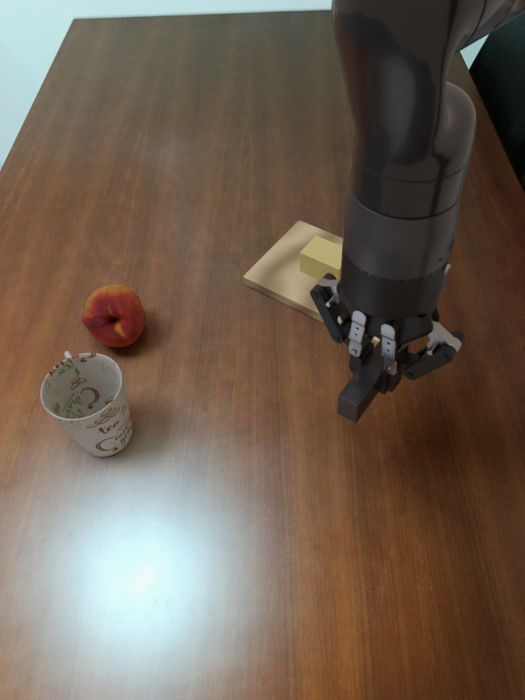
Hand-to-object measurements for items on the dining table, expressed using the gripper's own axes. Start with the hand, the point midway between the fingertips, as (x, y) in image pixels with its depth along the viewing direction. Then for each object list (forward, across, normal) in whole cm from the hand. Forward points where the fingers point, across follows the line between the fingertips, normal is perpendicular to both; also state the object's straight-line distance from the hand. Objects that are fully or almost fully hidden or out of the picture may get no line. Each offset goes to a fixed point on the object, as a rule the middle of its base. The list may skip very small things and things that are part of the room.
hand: (374, 380), depth 54 cm
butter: (+11, -17, +20) cm, 28 cm away
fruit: (+12, -34, -4) cm, 36 cm away
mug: (+13, -27, -15) cm, 33 cm away
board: (+13, -15, +20) cm, 28 cm away
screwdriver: (0, 0, +5) cm, 5 cm away
